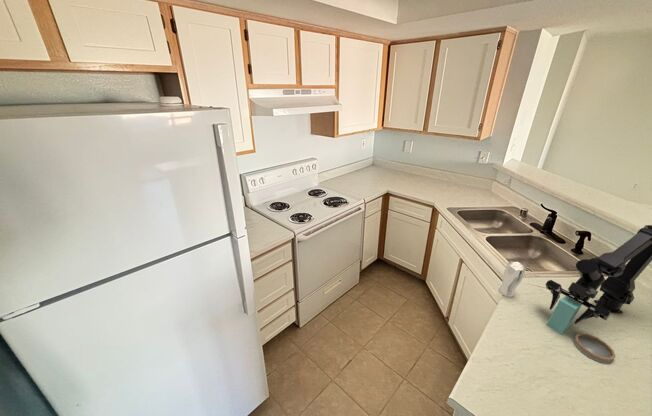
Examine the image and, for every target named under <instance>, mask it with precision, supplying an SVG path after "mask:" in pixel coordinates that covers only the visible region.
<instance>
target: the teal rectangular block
mask: <svg viewBox="0 0 652 416" xmlns="http://www.w3.org/2000/svg"><path fill="white" fill-rule="evenodd" d="M557 302H558V303H556V305H555V308H554V310H553V312H552V314H551V316H550V317H549V319H548V321H547V323H546V326H547V327H549V328H551V329H552V330H554V331H555V332H557V333H559V334H560V335H563V334H564V333H565V332H567V330H568V329H569V328H570V326H571V324H572V323H573V321H574V319H575V317H576V316H577V314H578V312H579V311H580V309H581V308H582V306H583V305H582V304H580V303H579V302H577V301H575V300H573V299H571V298H569V297H567V296H565V295H564V296H563V297H562V298H561V299H560V298H559V299H558V301H557Z"/></svg>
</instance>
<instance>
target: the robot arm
mask: <svg viewBox="0 0 652 416" xmlns="http://www.w3.org/2000/svg"><path fill="white" fill-rule="evenodd" d="M651 262H652V224H646V225H644V227H642V228H640V229H639V230H637V233H636V234H635V235H634V236H631V238H629V239H628V240H627V241H626V242H624V243H623V244H621V245H620V246H618V247H617V248H616V249H615V250H614V251H612V252H611V251H610V252H609V251H608V252H603V254H601V255H599V256H596V257H592V258H590V259H589V258H588V259H587V258H586V259H580V260H578V261H576V263H575V268H576V270H577V272H578V274H579V278H578V279H577V280H576V281H575V282H573V281H572V282H571V284H570V285H569V286H568V288H567V290H565V289H564V288H563V287H562V284H560V283H558V282H556V281H554V280H552V279H549V280H547V281H546V283H545V287H546V290H549V292H550V293H551V294H552V298H551V302H550V307H549V310H553V308H554V307H556V305H557V304H558V303H557V302H559V300H560V298H561V294H562V295H564V297H565V296H567V297H569V298H571V299H573V300H575V301H577V302H579V303H580V304H582V306H585V307H586V308H587V309H585V311H584V312H583V313H582V314H581V315H580V316H578V318H576V319H575V320H574V322H573V324H574V325H576V324H578V323H581V322H583V321H586V320H587V319H591V318H595V319H598V318H600V319H602V320H604V321H608V319H609V318H610V316H611V314H612V313H615V314H623V313H624V311H623V310H621V308H622V307H623V305H631V303H632V302H633V301H634V299H635V296H634V293H633V292H634V291H635V290H636V283H635V281H636V280H637V278H638V277H639V276H640V275H641V274H642V273H643V272H644V270H645V269H646V268H647V267H648V265H650V264H651ZM605 275H606V276H607V277H606V278H605ZM599 291H600V292H602V295H601V296H600V297H599V299H595V298H596V297H597V295H598V293H599ZM590 299H594V300H593V302H594V303H596V304H593V303H591V302H589V300H590Z"/></svg>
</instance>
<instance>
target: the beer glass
mask: <svg viewBox="0 0 652 416" xmlns="http://www.w3.org/2000/svg"><path fill="white" fill-rule="evenodd" d="M526 270H527V267H526V266H525V265H524V264H522V263H520V262H518V261H508V262H507V265H506V266H505V269H504V270H503V271H504V272H503V274H502V275H503V276H502V282H501V285H500V286H499V287H498V292H499V293H500V294H501V295H502V296H504V297H506V298H513V297H515V292H516V290H517V289H516V288H518V286H519V285H520V284H521V282H522V281H523V279H524V276H525V273H526Z"/></svg>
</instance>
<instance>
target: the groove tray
mask: <svg viewBox="0 0 652 416" xmlns="http://www.w3.org/2000/svg"><path fill="white" fill-rule="evenodd" d="M572 343H573V345H574V347H575V348H576V349H577V351H579V352H580V353H581V354H582V355H584V356H586V357H587V358H589V359H591V360H593V361H594V362H598V363H601V364H606V365H607V364H611V363H613V361H614V360H615V358H616V353H615V351H614V349H613V348H612V347H611V346H610V345H609V344H608V343H606V342H605V341H604V340H602V339H600V337H596V336H594V335H592V334H589V333H581V332H580V333H578V334H576V335H575V336H574V337H573V339H572Z"/></svg>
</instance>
